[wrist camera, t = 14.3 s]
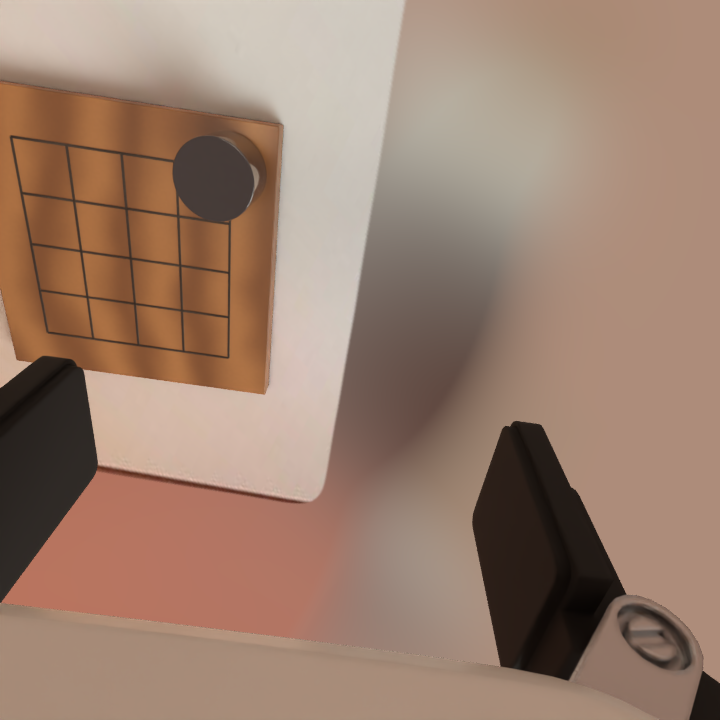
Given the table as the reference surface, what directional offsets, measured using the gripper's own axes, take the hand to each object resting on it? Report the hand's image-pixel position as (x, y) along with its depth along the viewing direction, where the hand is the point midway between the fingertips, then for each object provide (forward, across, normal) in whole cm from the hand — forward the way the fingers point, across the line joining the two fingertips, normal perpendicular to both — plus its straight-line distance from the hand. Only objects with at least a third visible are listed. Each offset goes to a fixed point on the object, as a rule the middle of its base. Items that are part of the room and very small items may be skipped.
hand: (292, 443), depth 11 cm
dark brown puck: (+25, +8, -1) cm, 26 cm away
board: (+26, +15, +6) cm, 31 cm away
